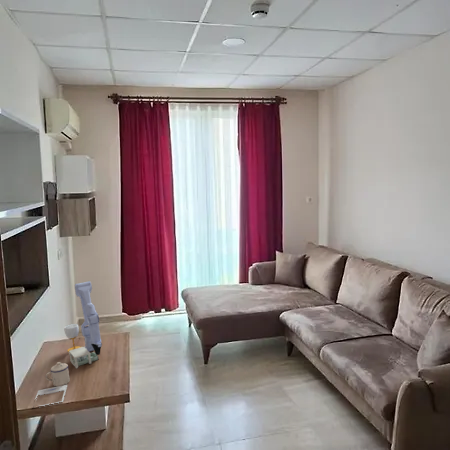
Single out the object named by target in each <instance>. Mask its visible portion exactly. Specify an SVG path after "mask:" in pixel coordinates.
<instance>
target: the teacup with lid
mask: <svg viewBox="0 0 450 450" xmlns="http://www.w3.org/2000/svg"><path fill="white" fill-rule="evenodd" d="M49 374H51V378H49V376H48V375H49ZM45 379H46V380H47V381H48V382H49V381H50V382H51V381H52V385H53V387H58V386H63V385H68V383H69V382H70V372H69V365H68V364H67V363H65V362H63V363H62V362H61V361H58V362H56V364H55V365H53V366H52V367H51V368H50V371H48V372H47V373H46V374H45Z"/></svg>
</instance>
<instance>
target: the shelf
mask: <svg viewBox="0 0 450 450" xmlns="http://www.w3.org/2000/svg"><path fill="white" fill-rule="evenodd" d="M90 353H91V351H90V352H89V351H88V350H87V349H86V348H85V345H84V346H80V348H77V349H73V350H70V351H69V352H68V354H69V361H70V363H71V364H72V365H73V367H75V369H78V368H79V366H78V362H77V358H79V357H82V356H85V355H88V361H89V363H88V364H89V365H92V362H91V356H90ZM73 359H74V360H75V363H74V362H73Z"/></svg>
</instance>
